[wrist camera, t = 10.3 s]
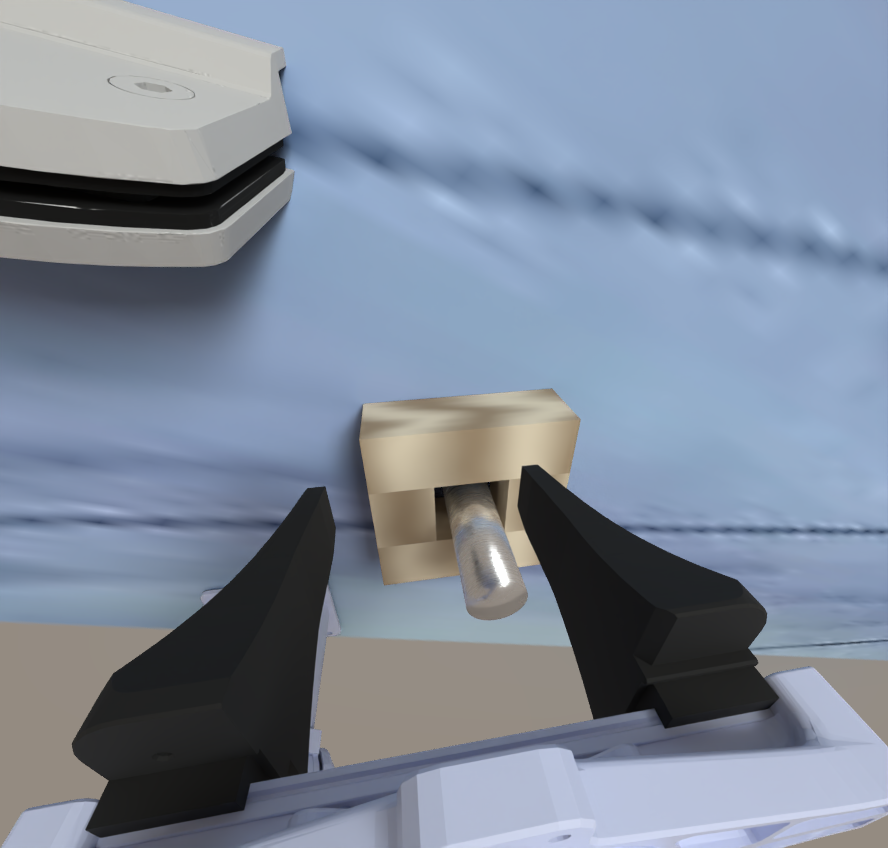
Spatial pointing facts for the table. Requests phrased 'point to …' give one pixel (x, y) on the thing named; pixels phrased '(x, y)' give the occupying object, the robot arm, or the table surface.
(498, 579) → the peg
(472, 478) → the knuckle block
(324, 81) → the table surface
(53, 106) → the grey stapler
